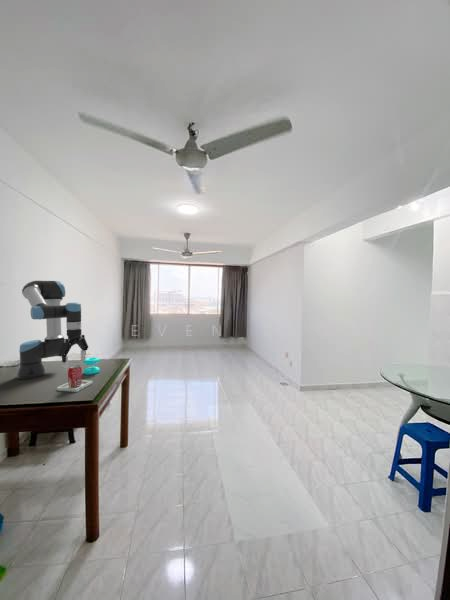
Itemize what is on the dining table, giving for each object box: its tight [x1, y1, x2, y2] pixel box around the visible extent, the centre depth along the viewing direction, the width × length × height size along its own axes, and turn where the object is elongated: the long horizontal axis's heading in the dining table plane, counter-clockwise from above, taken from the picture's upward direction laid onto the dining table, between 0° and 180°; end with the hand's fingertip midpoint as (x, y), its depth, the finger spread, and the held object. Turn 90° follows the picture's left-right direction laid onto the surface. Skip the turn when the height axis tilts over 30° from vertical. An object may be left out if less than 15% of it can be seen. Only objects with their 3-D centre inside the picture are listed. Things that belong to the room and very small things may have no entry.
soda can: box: [67, 364, 83, 388], centre depth 149 cm, size 7×7×12 cm
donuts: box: [82, 356, 101, 376], centre depth 176 cm, size 10×10×10 cm
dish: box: [56, 379, 94, 393], centre depth 150 cm, size 13×13×2 cm
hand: (74, 364), depth 149 cm, fingers open, 13 cm apart
